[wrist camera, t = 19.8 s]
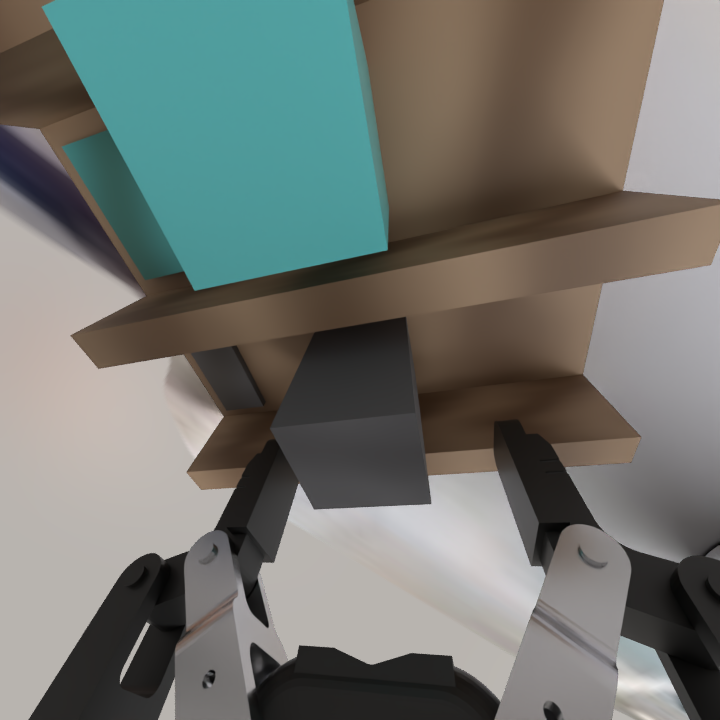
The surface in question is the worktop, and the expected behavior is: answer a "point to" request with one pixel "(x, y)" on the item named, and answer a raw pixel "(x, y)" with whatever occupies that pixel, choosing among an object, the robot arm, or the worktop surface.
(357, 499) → the charcoal plug
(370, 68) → the wooden bookshelf
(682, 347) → the worktop surface
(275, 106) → the teal plug
